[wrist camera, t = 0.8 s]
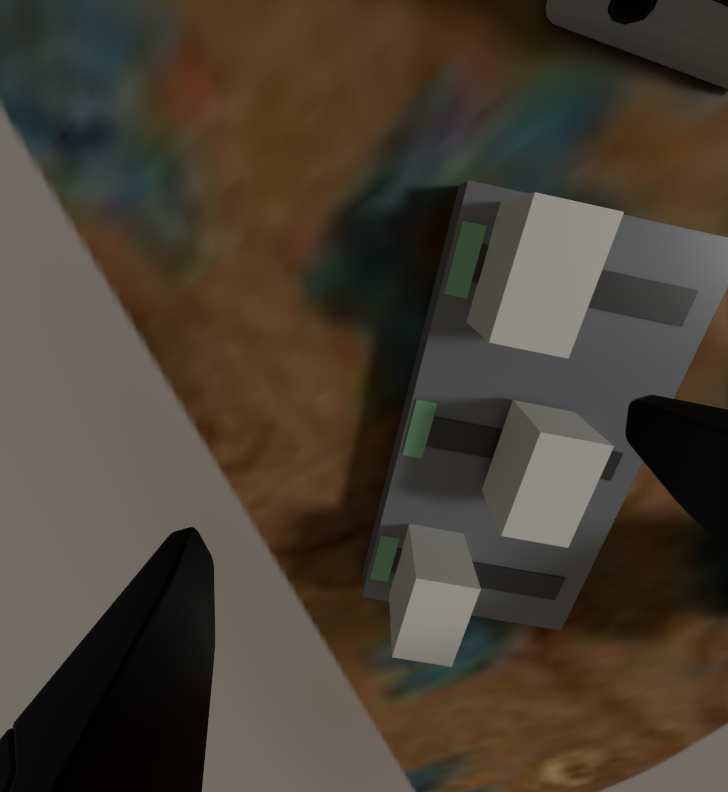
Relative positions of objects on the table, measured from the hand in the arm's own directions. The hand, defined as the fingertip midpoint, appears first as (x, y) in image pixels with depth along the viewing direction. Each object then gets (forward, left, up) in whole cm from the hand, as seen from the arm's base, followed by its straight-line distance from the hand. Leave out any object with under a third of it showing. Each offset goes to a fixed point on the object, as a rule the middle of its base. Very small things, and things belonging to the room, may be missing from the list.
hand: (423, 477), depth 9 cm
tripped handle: (-7, +4, -11) cm, 14 cm away
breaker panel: (-7, +4, -14) cm, 16 cm away
